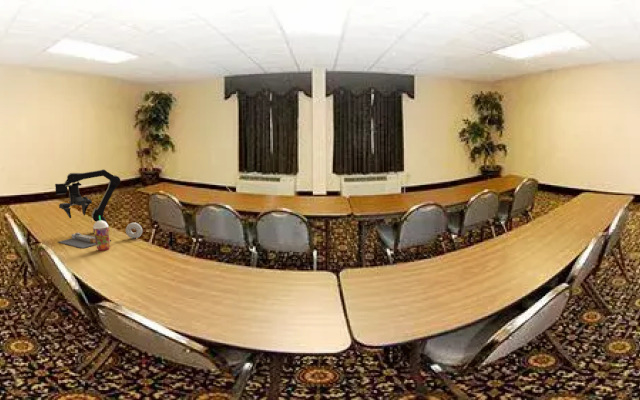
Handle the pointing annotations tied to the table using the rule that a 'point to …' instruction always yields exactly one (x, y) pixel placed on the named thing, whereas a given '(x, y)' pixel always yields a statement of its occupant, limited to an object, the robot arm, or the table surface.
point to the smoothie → (101, 235)
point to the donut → (130, 233)
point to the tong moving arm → (85, 239)
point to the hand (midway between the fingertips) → (77, 216)
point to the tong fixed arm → (80, 235)
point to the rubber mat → (78, 243)
